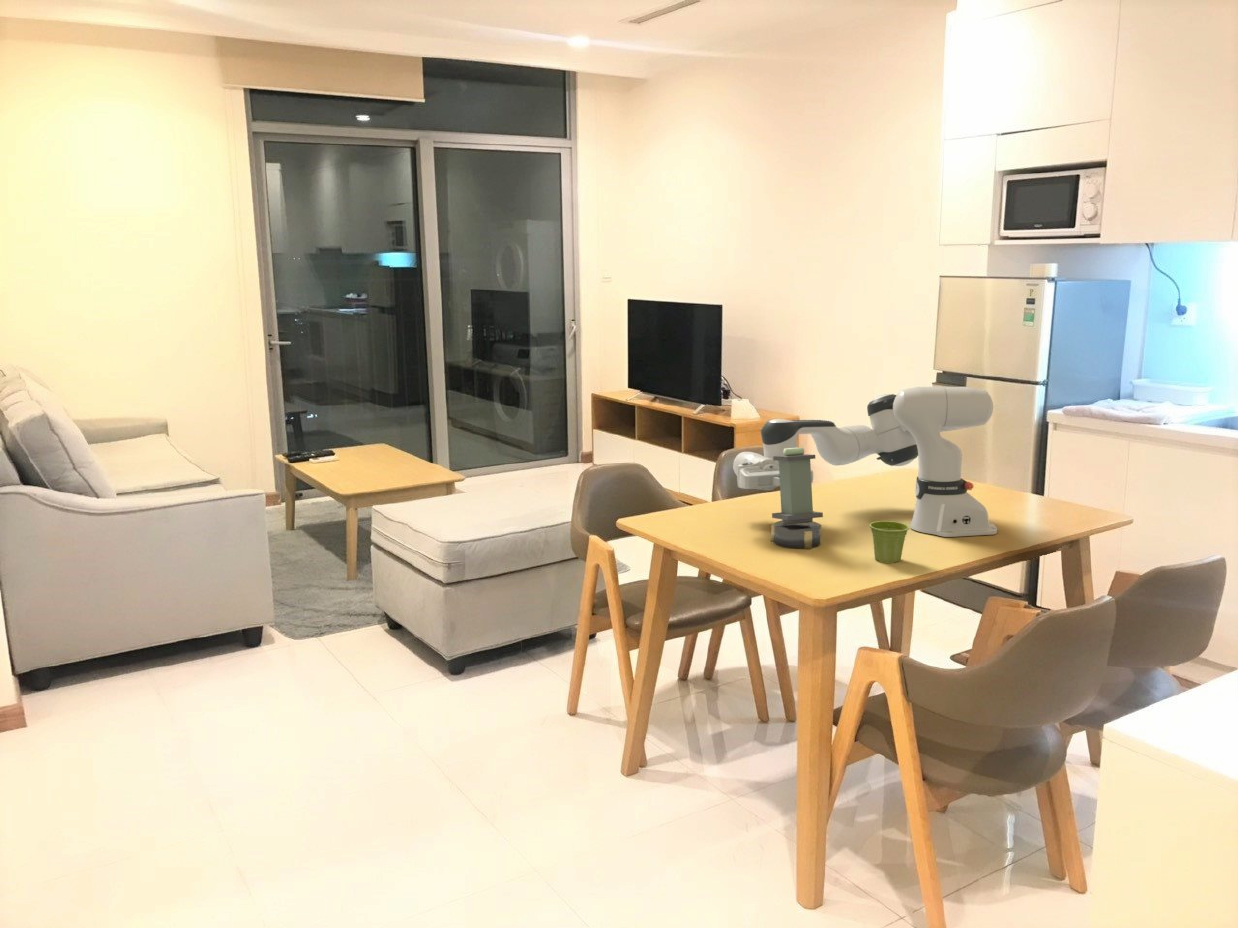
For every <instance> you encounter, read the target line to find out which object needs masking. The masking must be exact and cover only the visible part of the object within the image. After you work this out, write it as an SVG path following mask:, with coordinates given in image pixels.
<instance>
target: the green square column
mask: <svg viewBox="0 0 1238 928" xmlns="http://www.w3.org/2000/svg"><path fill="white" fill-rule="evenodd" d="M783 453H784V456H773V460H779V477H780V486H779V489H780V490H779V492H780V509H781V511H780V512H774V513H771V517H772V519H778V520H781V521H782V523H783V525H789V524H799V523H809V522H812V521H813V522H814V519H817V518H824V514H823V512H822V511H821V512H820V511H816V510H815V511H814V510H813V509H814V507H813V488H812V483H811V470H812V468H811V460H815V459H816V454H807V453H806V454H805V448H804V447H802V446H801V447H797V448H785V449H784V451H783Z"/></svg>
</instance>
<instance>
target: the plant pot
mask: <svg viewBox="0 0 1238 928" xmlns="http://www.w3.org/2000/svg"><path fill="white" fill-rule="evenodd" d="M869 528H870V529H871V530H870V531H871V533H872V539H873V542H872V543H873V549H874V553H873V554H874V559H875V560H876V561H879V562H881V563H887V564H893V563H896V562H900V561H901V559H902V555H903V550H904V544H905V538H906V536H907V533H908V531H909V530H910V525H909V524H907V523H903V522H901V521H900V522H899V521H895V520H894V521H893V520H892V521H890V520H880V521H879V520H876V521H872V522H871V523H869Z"/></svg>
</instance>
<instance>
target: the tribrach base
mask: <svg viewBox="0 0 1238 928" xmlns="http://www.w3.org/2000/svg"><path fill="white" fill-rule="evenodd" d="M821 527H822V525H821V524H820V523H818V522H816V521H814V520H813V521H812V522H809V523H799V524H789V525H783V523H782V520H779V521H776V522H775V523H772V524H771V531H770V534H771V535H770V538H771V539H770V542H771V543H772V542H773V544H774V545H775V546H777V547H780V548H785V549H789V550H790V549H792V550H812V549H813V548H818V547H819V546H820V545H821V534H822V528H821Z"/></svg>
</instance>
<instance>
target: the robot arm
mask: <svg viewBox="0 0 1238 928" xmlns="http://www.w3.org/2000/svg"><path fill="white" fill-rule="evenodd" d="M866 410H867V416H868V417H869V420H870V425H871V427H870V426H867V425H864V424H863V425H861V424H859V425H858V424H855V425H848V426H844V427H838V426H836V424H835V422H833V421H831V420H825V419H824V420H823V419H822V420H821V419H793V420H789V419H785V418H773V419H770V420H767V422H766V423H764V425H763V427H762V428H761V430H760V435H761V441H762V448H763V455H762V454H760V453H756V452H754V451H753V452H752V451H742V452H739V453H738V454H737V455H736V456H735V458H734V460H733V464H732V465H733V466H732V468H733V472H734V474H735V475H736V481H737V487H738V488H739V489H743V490H753V489H755V490H763V491H768V492H769V491H772V490H774V489H776V488H777V487H780V477H779V460H773V456H784V453H783V451H784V449H785V448H798V437H799V435H811V437H812V439H813V441H814V443H815V444H814V445H815V446H816V447H815V448H816V450H817V453H818V454H819V456H820V457H821V458H822V459H823V461H825V462H827V464H829V465H832V466H845V465H849V464H852V463H855V462H858V461H860V460H862V459H864V458H866V457H869V456H871V455H874V454H876V455H878V456H879V457H876V460H877V461H881V462H883V463H884V464H886V465H888V466H891V467H904V466H906V465H909V464H911V463H912V462H914V460H916V459H918V475H917V476H916V482H915V493H914V494H915V497H916V499H915V500H916V501H915V506H914V507H915V508H914V510H913V511H914V512H913V516H912V518H911V519H912V520H911V522H910V525H909V529H912V530H913V531H917V532H920V533H923V534H929V535H935V536H938V537H939V536H940V537H944V538H952V537H970V536H972V537H973V536H985V535H988V536H989V535H997V533H998V528H997V526H996V525H995V524H994V523H992V522H990V518H989V512H988V509H987V508H986V507H985V506H984V505H983V504H982V503H981V502H980V501H979V500H978V499H976V498H975V497H974V496H972V495H971V494H970V493H969V492H968V491H973V489H974V487H975V486H974V484H973V483H972V482H970V481H967V480H965V479H964V478H962V461H963V460H962V459H963V454H962V453H963V452H962V451H961V448H960V447H959V446H958V445H957V444H955V443H954V442H952V441H950V440H948V439H946V438H944V437H942V435H941V432H950V431H955V430H963V429H968V428H975V427H979V426H983V425H986V424H988V422H989V421H990V419H991V417H992V416H993V413H994V402H993V399H992V396H991V395H990V394H989V392H988V391H987V390H985V389H982V388H977V387H971V386H916V387H911V388H910V387H909V388H906V389H901V390H900V391H899V392H897V394H894V393H892V394H889V393H885V394H881V395H878V396H876V397H875V398H873V399H872V400H871V401H869V403H868V404H867V409H866ZM813 481H814V471H813V470H812V469H811V484H813Z"/></svg>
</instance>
